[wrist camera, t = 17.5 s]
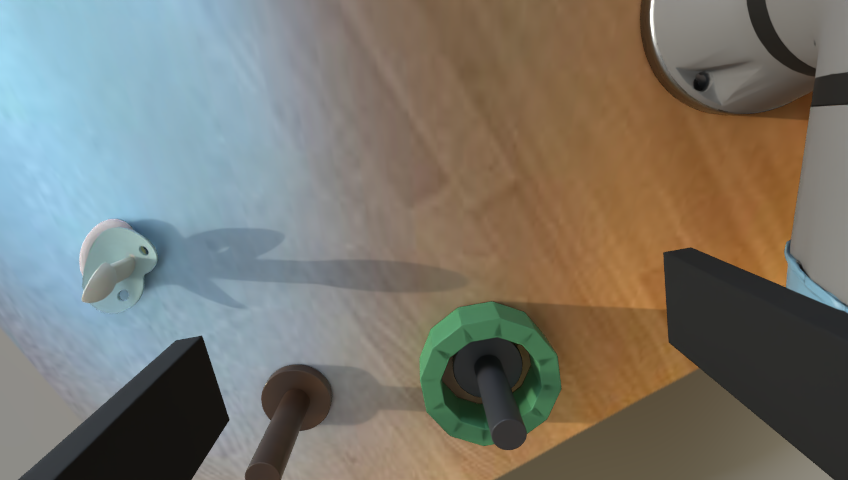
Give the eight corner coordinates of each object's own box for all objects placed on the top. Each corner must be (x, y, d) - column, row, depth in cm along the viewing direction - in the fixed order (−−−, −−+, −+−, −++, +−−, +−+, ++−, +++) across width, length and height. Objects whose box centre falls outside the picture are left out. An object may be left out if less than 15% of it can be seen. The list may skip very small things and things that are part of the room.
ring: (539, 292, 39) (551, 308, 35) (554, 406, 42) (567, 431, 38) (410, 315, 39) (410, 333, 36) (433, 427, 42) (435, 454, 38)
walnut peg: (323, 358, 40) (294, 432, 30) (339, 417, 41) (316, 506, 32) (257, 370, 40) (206, 448, 30) (274, 429, 41) (231, 520, 32)
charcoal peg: (515, 324, 40) (548, 388, 30) (523, 385, 41) (558, 464, 31) (447, 336, 40) (458, 403, 30) (458, 397, 41) (472, 479, 31)
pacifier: (73, 277, 38) (140, 311, 38) (5, 304, 32) (86, 344, 32) (106, 201, 36) (175, 238, 37) (41, 214, 30) (125, 258, 31)
